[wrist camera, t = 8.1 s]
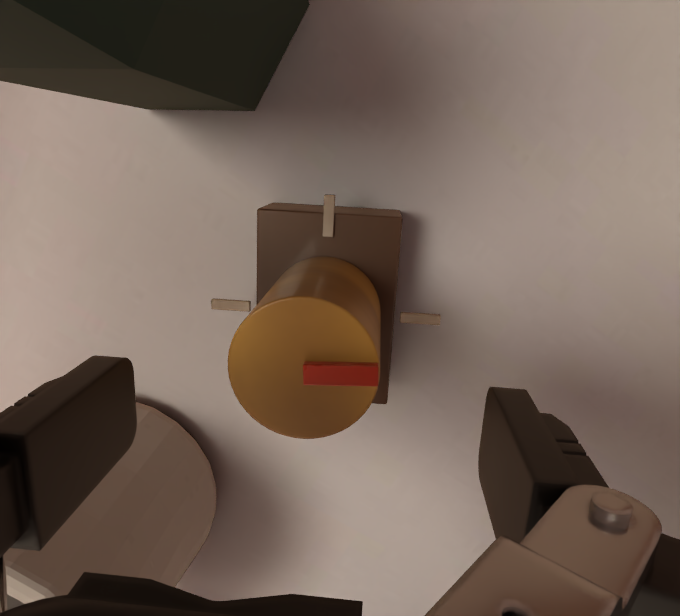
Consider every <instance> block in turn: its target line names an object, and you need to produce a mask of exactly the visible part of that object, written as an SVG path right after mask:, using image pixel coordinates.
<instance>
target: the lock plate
mask: <svg viewBox="0 0 680 616" xmlns="http://www.w3.org/2000/svg"><path fill="white" fill-rule="evenodd" d="M401 231H402V216H401V213H400V211H399V210H389V209H372V208H356V207H339V206H335V195H324V206H322V205H305V204H288V203H271V204H268V205H266V206H264V207H261V208H259V209H258V210H257V304H258V303H259V302H260V301H261V299H262V298H263V297H264V296H265V295H266V293H267V292H268V291H269V290H270V289H271V287H272V286H273V285H274V284H275V283H276V281H277V280H278V279H279V278H280V277H281V276H282V274H283V273H284V272H285V271H286V270H288V269H289V268H290V267H292V266H293V265H294V264H296V263H298V262H300V261H303V260H306V259H309V258H314V257H333V258H338V259H341V260H344V261H346V262H348V263H350V264H352V265H354V266H355V267H357V268H358V269H360V270H361V271H362V272H363V273H364V274H365V275H366V276H367V277H368V278H369V280H370V281H371V283H372V284H373V286H374V288H375V290H376V292H377V295H378V298H379V302H380V311H381V325H380V379H379V385H378V389H377V392H376V395H375V397H374V399H373V401H372V403H377V404H386V403H387V398H388V386H389V374H390V362H391V350H392V338H393V327H394V315H395V303H396V291H397V279H398V267H399V255H400V243H401ZM211 305H212V309H220V310H234V311H248V312H249V311H250V306H251V302H250V301H241V300H227V299H212V300H211ZM440 317H441V316H440V314H425V313H411V312H400V322H401V323H415V324H429V325H440Z"/></svg>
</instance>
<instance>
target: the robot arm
mask: <svg viewBox="0 0 680 616" xmlns="http://www.w3.org/2000/svg"><path fill="white" fill-rule="evenodd" d="M136 429H137V414H136V400H135V386H134V371H133V366H132V363H131V361H130V360H129V359H128V358H121V357H108V356H92V357H90V358H89V359H87V360H86V361H85V362H83V363H82V364H80V365H79V366H77V367H76V368H74V369H73V370H71V371H70V372H69V373H67V374H66V375H64V376H62V377H59V378H57V379H54V380H52V381H49V382H46V383H44V384H43V385H41V386H40V387H38V388H37V389H35V390H34V391H32V392H31V393H29V394H28V397H23V398H22V399H20V400H19V401H17V402H16V403H14V406H10V407H8V408H7V409H6V410H4V411H3V412H1V413H0V616H362V601H352V600H343V599H334V598H324V597H315V596H306V595H296V594H288V595H278V596H268V597H259V598H249V599H239V600H229V601H211V600H208V599H205V598H202V597H199V596H197V595H194V594H191V593H188V592H186V591H183V590H180V589H177V588H174V587H172V586H169V585H166V584H163V583H161V582H158V581H155V580H152V579H147V578H138V577H128V576H119V575H110V574H100V573H91V572H84V573H83V574H82V575H81V577H80V578H79V579H78V581H77V582H76V584H75V585H74V586H73V588H72V589H71V590H70V592H69V593H68V595H60V596H55V597H50V598H45V599H41V600H37V601H33V602H30V603H26V604H23V605H20V606H17V607H15V608H12V609H9V610H8V606H7V584H6V568H5V562H4V556H3V555H4V554H5V553H6V551H7V550H8V549H9V548H15V549H25V550H35V551H40V550H41V549H42V548H43V547H44V546H45V545H46V544H47V542H48V541H49V540H50V539H51V538H52V537H53V536H54V534H55V533H56V532H57V531H58V530H59V529H60V528H61V526H62V525H63V524H64V523H65V522H66V521H67V520H68V518H69V517H70V516H71V515H72V514H73V513H74V512H75V510H76V509H77V508H78V507H79V506H80V505H81V504H82V502H83V501H84V500H85V499H86V498H87V497H88V496H89V494H90V493H91V492H92V491H93V490H94V489H95V488H96V486H97V485H98V484H99V483H100V482H101V481H102V479H103V478H104V477H105V476H106V475H107V474H108V473H109V471H110V470H111V469H112V468H113V467H114V466H115V465H116V463H117V462H118V461H119V460H120V459H121V458H122V457H123V455H124V454H125V453H126V452H127V451H128V450H129V448H130V447H131V445H132V443H133V441H134V438H135V434H136ZM478 466H479V478H480V483H481V487H482V490H483V494H484V497H485V501H486V505H487V508H488V512H489V516H490V519H491V523H492V526H493V530H494V534H495V537H496V540H495V541H494V542H493V543H492V544H491V545H490V546H489V547H488V548H487V550H486V551H485V552H484V553H483V554H482V555H481V556H480V557H479V558H478V559H477V560H476V561H475V562H474V563H473V564H472V566H471V567H470V568H469V569H468V570H467V571H466V572H465V573H464V574H463V575H462V576H461V577H460V578H459V579H458V580H457V582H456V583H455V584H454V585H453V586H452V587H451V588H450V589H449V590H448V591H447V592H446V593H445V594H444V595H443V596H442V598H441V599H440V600H439V601H438V602H437V603H436V604H435V605H434V606H433V607H432V608H431V609H430V610H429V611H428V612H427V614H426V615H425V616H680V540H679V539H676V538H673V537H670V536H667V535H665V534H662V533H661V531H662V527H661V523H660V521H659V519H658V518H657V516H656V515H655V514H654V513H653V512H652V510H651V509H649V508H648V507H647V506H646V505H644V504H643V503H641V502H640V501H639V500H637V499H635V498H633V497H631V496H629V495H627V494H625V493H623V492H620V491H617V490H615V489H611V488H609V487H608V485H607V484H606V482H605V481H604V479H603V478H602V476H601V475H600V473H599V471H598V470H597V468H596V467H595V465H594V464H593V462H592V461H591V459H590V458H589V456H586V452H585V450H584V449H583V447H582V446H581V444H578V440H577V438H576V436H575V435H574V433H573V432H572V430H571V429H570V427H569V426H567V425H566V424H565V423H563V422H562V421H560V420H559V419H558V418H556V417H555V416H553V415H552V414H547V413H539V411H538V409H537V407H536V406H535V404H534V402H533V400H532V399H531V397H530V395H529V394H528V392H527V390H525V389H513V388H500V387H490V388H489V390H488V393H487V397H486V404H485V412H484V419H483V426H482V434H481V441H480V449H479V461H478Z"/></svg>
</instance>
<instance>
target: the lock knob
mask: <svg viewBox="0 0 680 616" xmlns="http://www.w3.org/2000/svg"><path fill="white" fill-rule="evenodd" d="M380 325H381V311H380V302H379V298H378V295H377V292H376V290H375V288H374V286H373V284H372V283H371V281H370V280H369V278H368V277H367V276H366V275H365V274H364V273H363V272H362V271H361V270H360V269H358V268H357V267H355V266H354V265H352V264H350V263H348V262H346V261H344V260H341V259H338V258H333V257H314V258H309V259H306V260H303V261H300V262H298V263H296V264H294V265H293V266H292V267H290V268H289V269H288V270H286V271H285V272H284V273H283V274H282V276H281V277H280V278H279V279H278V280H277V281H276V283H275V284H274V285H273V286H272V287H271V289H270V290H269V291H268V292H267V293H266V295H265V296H264V297H263V298H262V299H261V301H260V302H259V303H258V304H257V305H256V307H255V308H254V309H253V310H252V311H251V313H250V314H249V315H248V316H247V317H246V319H245V320H244V321H243V322H242V323H241V325H240V326H239V328H238V329H237V331H236V333H235V335H234V337H233V339H232V342H231V345H230V349H229V355H228V372H229V379H230V382H231V386H232V388H233V391H234V393H235V395H236V397H237V399H238V401H239V402H240V404H241V405H242V406H243V408H244V409H245V410H246V412H247V413H248V414H249V415H250V416H251V417H252V418H254V419H255V420H256V421H257V422H259V423H260V424H261V425H263V426H265V427H266V428H268V429H270V430H272V431H274V432H276V433H279V434H282V435H285V436H289V437H294V438H302V439H314V438H321V437H326V436H330V435H333V434H336V433H338V432H340V431H342V430H344V429H346V428H348V427H349V426H351V425H352V424H353V423H355V422H356V421H357V420H358V419H359V418H360V417H361V416H362V415H363V414H364V413H365V412H366V411H367V409H368V408H369V407H370V405H371V403H372V401H373V399H374V397H375V395H376V392H377V389H378V385H379V379H380Z"/></svg>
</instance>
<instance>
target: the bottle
mask: <svg viewBox="0 0 680 616" xmlns="http://www.w3.org/2000/svg"><path fill="white" fill-rule="evenodd" d="M309 5H310V4H309V2H308V0H0V81H5V82H10V83H15V84H20V85H25V86H31V87H36V88H41V89H46V90H51V91H56V92H61V93H67V94H72V95H77V96H82V97H87V98H92V99H97V100H103V101H108V102H113V103H118V104H123V105H128V106H133V107H138V108H144V109H166V110H230V111H255V109H256V107H257V105H258V103H259V101H260V99H261V97H262V95H263V93H264V92H265V90H266V88H267V86H268V84H269V82H270V80H271V78H272V76H273V74H274V72H275V70H276V68H277V66H278V64H279V63H280V61H281V59H282V57H283V55H284V53H285V51H286V49H287V47H288V45H289V43H290V41H291V39H292V37H293V35H294V34H295V32H296V30H297V28H298V26H299V24H300V22H301V20H302V18H303V16H304V14H305V12H306V10H307V8H308V6H309Z"/></svg>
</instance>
